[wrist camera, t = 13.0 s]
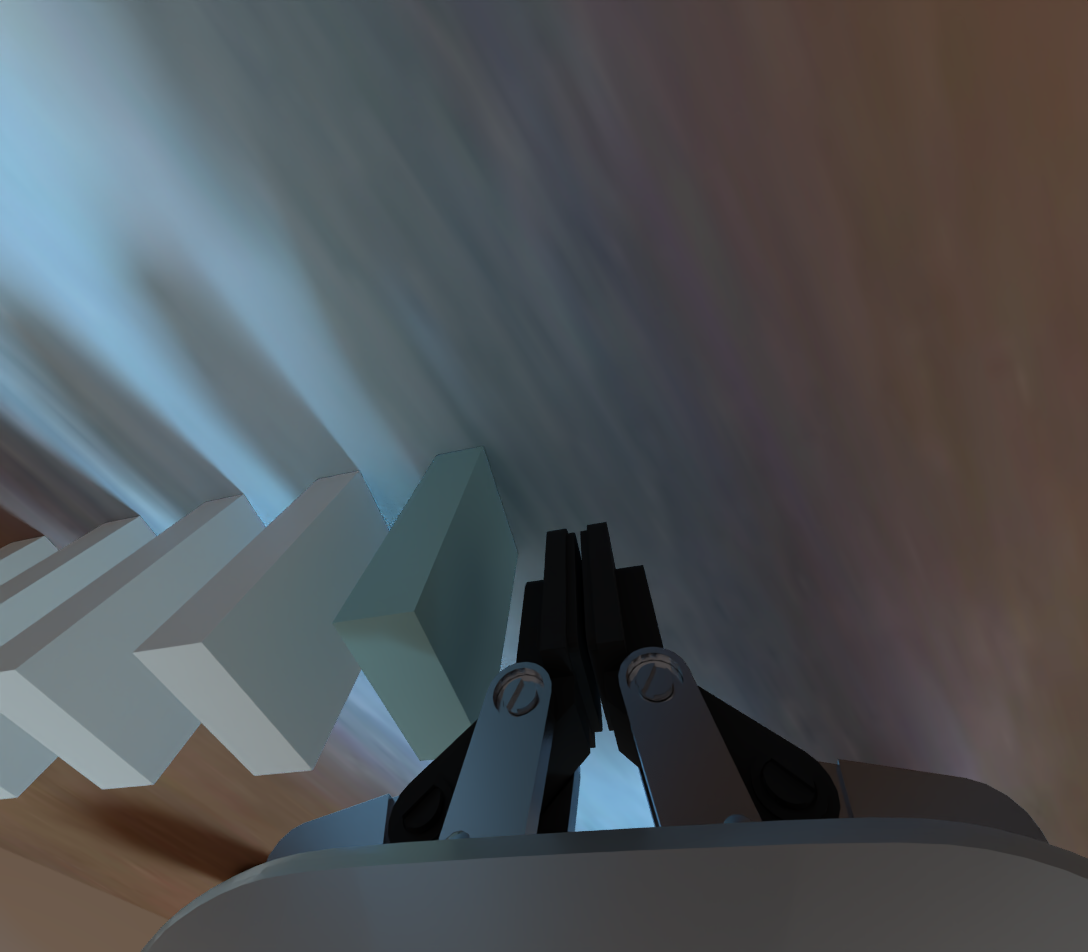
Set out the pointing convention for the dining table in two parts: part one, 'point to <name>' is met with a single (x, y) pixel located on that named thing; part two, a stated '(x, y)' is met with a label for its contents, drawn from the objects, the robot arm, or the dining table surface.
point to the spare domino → (436, 603)
